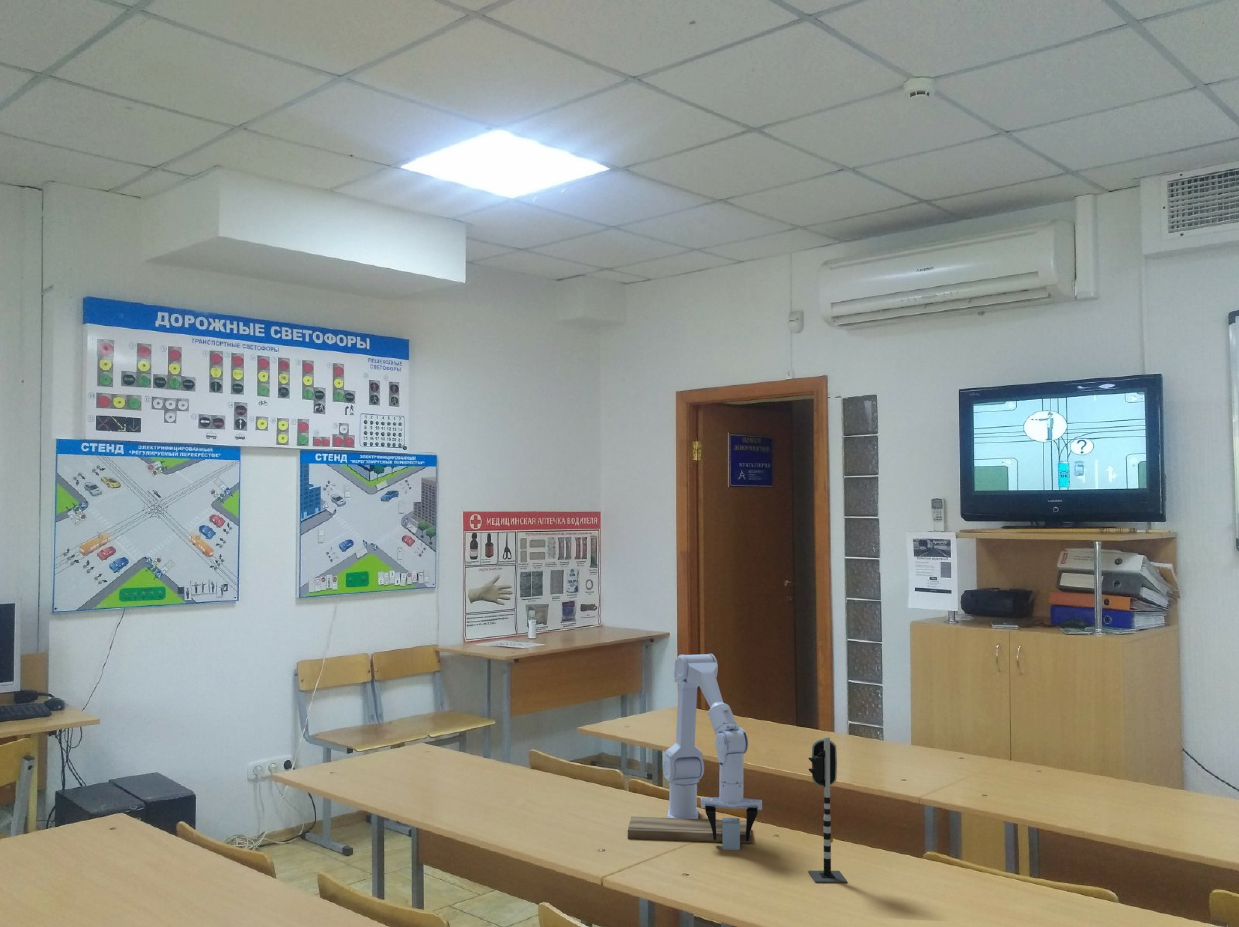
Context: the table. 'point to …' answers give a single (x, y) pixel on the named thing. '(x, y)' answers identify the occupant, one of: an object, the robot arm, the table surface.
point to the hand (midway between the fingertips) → (731, 839)
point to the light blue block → (731, 833)
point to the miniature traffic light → (825, 802)
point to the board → (679, 829)
